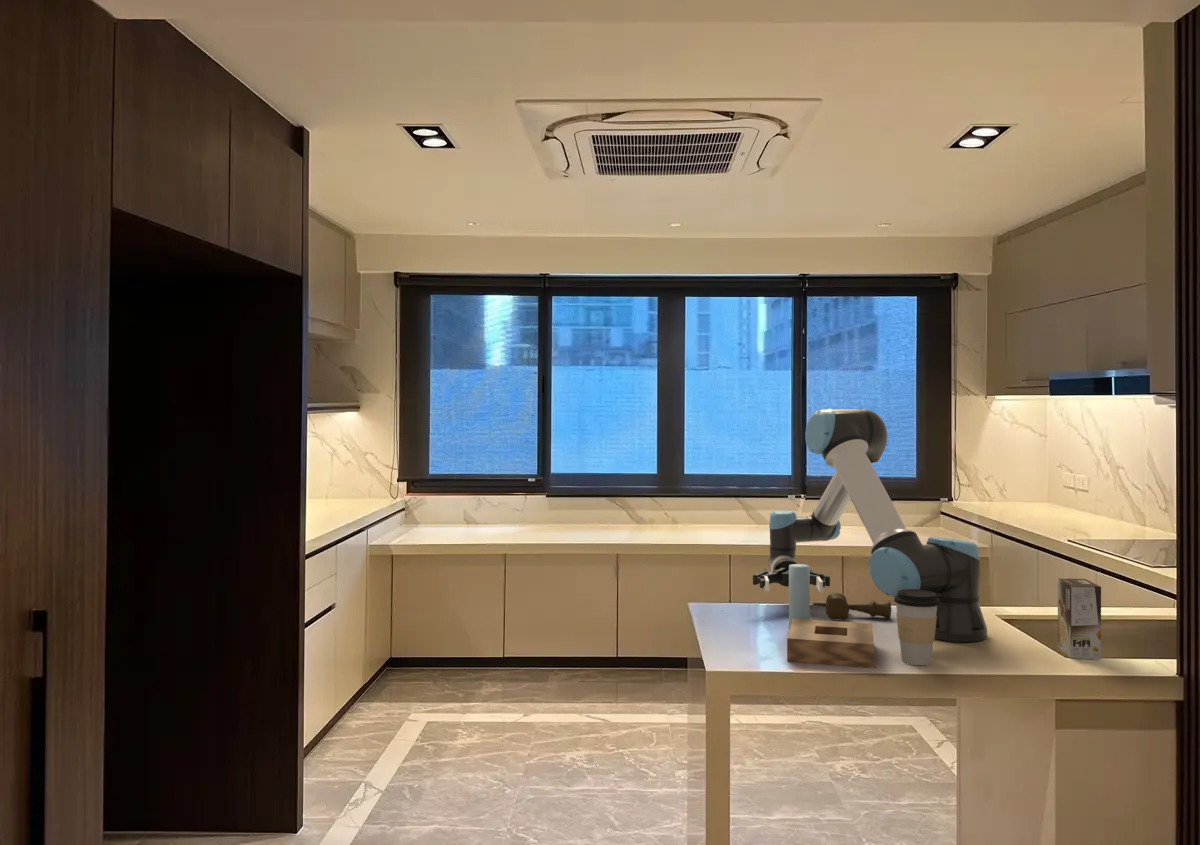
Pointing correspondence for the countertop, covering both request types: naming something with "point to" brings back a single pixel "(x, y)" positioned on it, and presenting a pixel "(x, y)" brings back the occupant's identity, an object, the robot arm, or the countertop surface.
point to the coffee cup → (916, 624)
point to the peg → (799, 592)
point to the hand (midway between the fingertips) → (794, 586)
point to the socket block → (831, 643)
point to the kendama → (853, 607)
